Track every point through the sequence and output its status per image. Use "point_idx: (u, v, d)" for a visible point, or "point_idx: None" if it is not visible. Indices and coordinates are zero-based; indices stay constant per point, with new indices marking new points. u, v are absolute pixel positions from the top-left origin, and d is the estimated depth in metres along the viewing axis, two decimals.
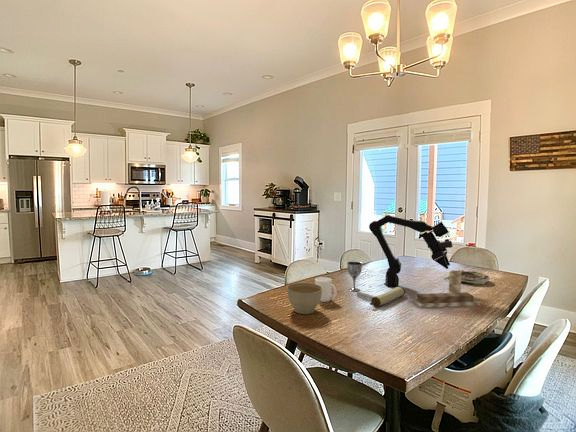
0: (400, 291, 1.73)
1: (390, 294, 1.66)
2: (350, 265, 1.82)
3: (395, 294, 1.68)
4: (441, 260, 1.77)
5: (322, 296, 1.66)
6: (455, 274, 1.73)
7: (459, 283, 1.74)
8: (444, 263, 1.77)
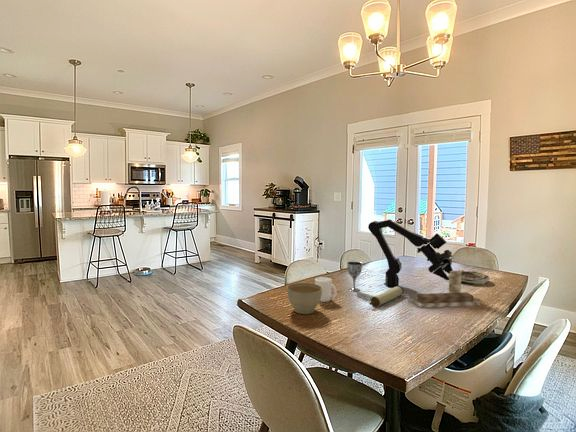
0: (399, 291, 1.73)
1: (389, 294, 1.66)
2: (350, 265, 1.82)
3: (394, 294, 1.69)
4: (440, 272, 1.75)
5: (322, 296, 1.66)
6: (455, 274, 1.73)
7: (459, 283, 1.74)
8: (443, 275, 1.74)
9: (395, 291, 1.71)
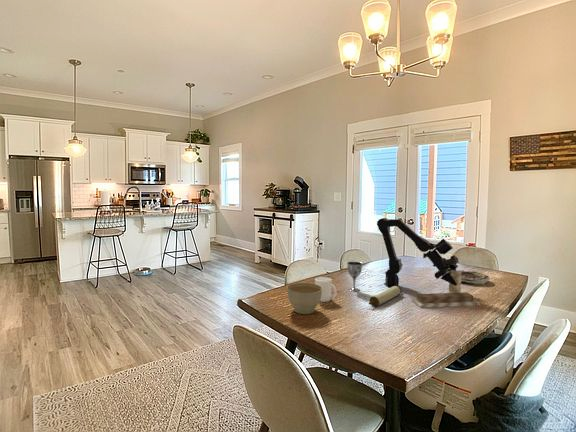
0: (397, 290, 1.74)
1: (388, 293, 1.67)
2: (350, 265, 1.82)
3: (392, 293, 1.70)
4: (448, 277, 1.74)
5: (322, 296, 1.66)
6: (455, 274, 1.73)
7: (459, 283, 1.73)
8: (451, 280, 1.73)
9: (393, 291, 1.72)
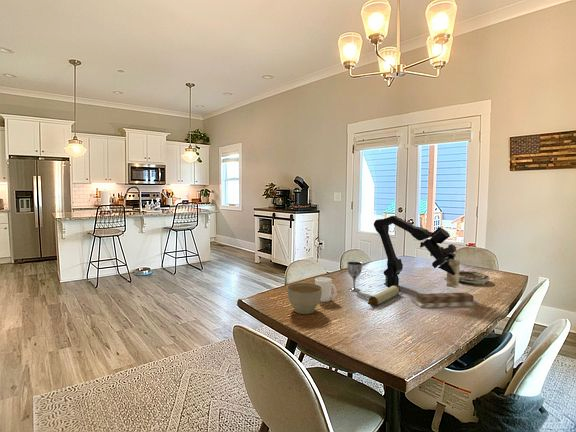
0: (395, 290, 1.74)
1: (386, 293, 1.67)
2: (350, 265, 1.82)
3: (391, 293, 1.70)
4: (446, 266, 1.68)
5: (322, 296, 1.66)
6: (453, 263, 1.67)
7: (457, 272, 1.68)
8: (449, 269, 1.67)
9: (392, 290, 1.72)
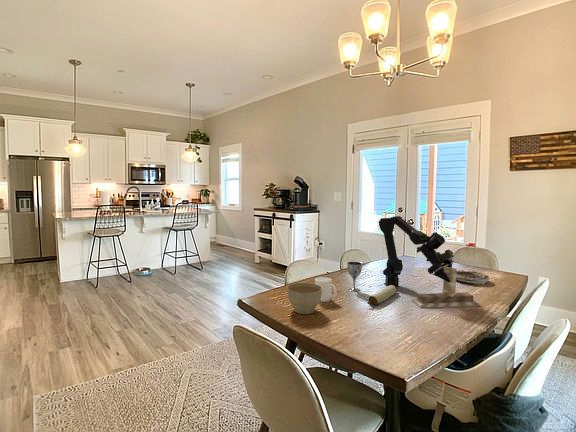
0: (393, 289, 1.75)
1: (385, 293, 1.68)
2: (350, 265, 1.82)
3: (389, 292, 1.71)
4: (440, 273, 1.62)
5: (322, 296, 1.66)
6: (450, 271, 1.62)
7: (454, 280, 1.63)
8: (444, 276, 1.61)
9: (390, 290, 1.73)
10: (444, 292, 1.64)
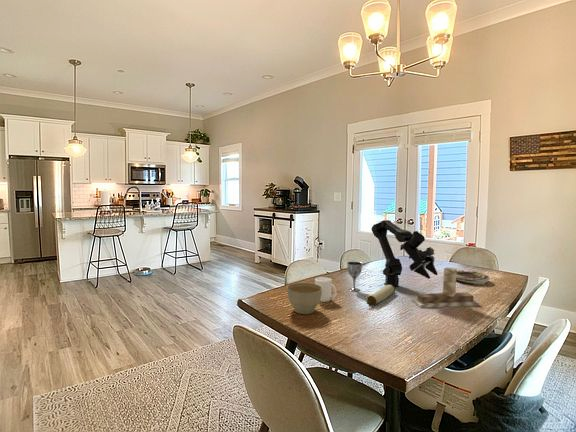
0: (391, 289, 1.76)
1: (383, 292, 1.69)
2: (350, 265, 1.82)
3: (387, 292, 1.72)
4: (421, 270, 1.68)
5: (322, 296, 1.66)
6: (450, 271, 1.62)
7: (454, 281, 1.63)
8: (424, 273, 1.67)
9: (388, 289, 1.74)
10: (444, 292, 1.64)
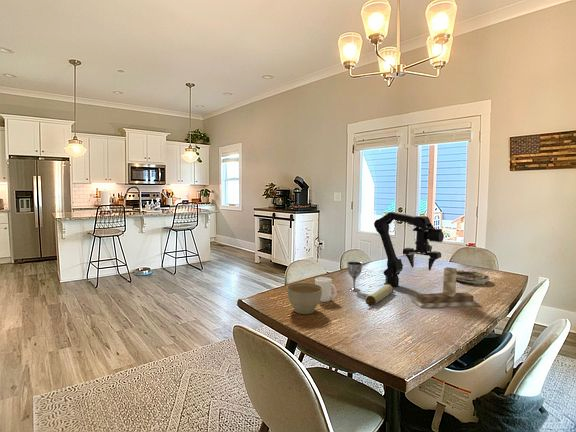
0: (389, 288, 1.77)
1: (382, 292, 1.69)
2: (350, 265, 1.82)
3: (386, 292, 1.72)
4: (432, 261, 1.76)
5: (322, 296, 1.66)
6: (450, 271, 1.62)
7: (454, 281, 1.63)
8: (431, 264, 1.76)
9: (387, 289, 1.74)
10: (444, 292, 1.64)
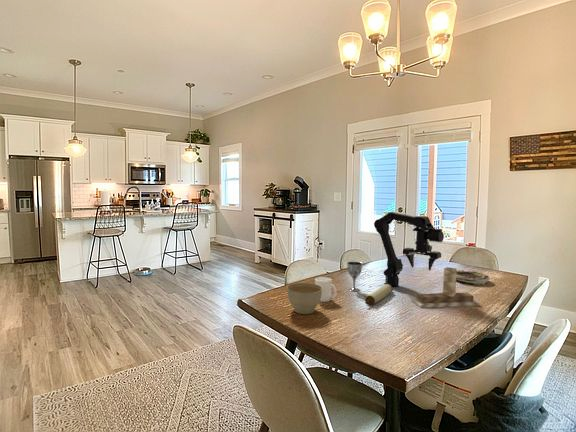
0: (389, 288, 1.77)
1: (381, 292, 1.69)
2: (350, 265, 1.82)
3: (385, 292, 1.72)
4: (432, 261, 1.76)
5: (322, 296, 1.66)
6: (450, 271, 1.62)
7: (454, 281, 1.63)
8: (432, 264, 1.76)
9: (386, 289, 1.74)
10: (444, 292, 1.64)
